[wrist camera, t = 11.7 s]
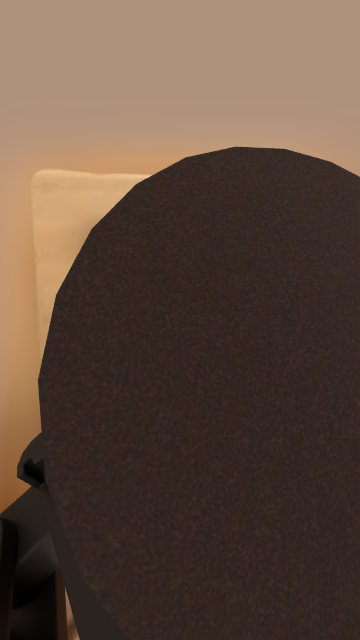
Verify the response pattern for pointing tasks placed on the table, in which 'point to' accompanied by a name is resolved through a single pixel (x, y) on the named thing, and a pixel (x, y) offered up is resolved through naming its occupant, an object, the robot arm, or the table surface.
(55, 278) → the table surface
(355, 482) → the deodorant
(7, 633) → the robot arm
